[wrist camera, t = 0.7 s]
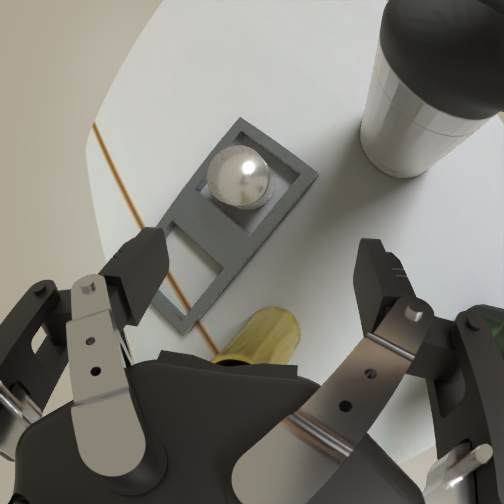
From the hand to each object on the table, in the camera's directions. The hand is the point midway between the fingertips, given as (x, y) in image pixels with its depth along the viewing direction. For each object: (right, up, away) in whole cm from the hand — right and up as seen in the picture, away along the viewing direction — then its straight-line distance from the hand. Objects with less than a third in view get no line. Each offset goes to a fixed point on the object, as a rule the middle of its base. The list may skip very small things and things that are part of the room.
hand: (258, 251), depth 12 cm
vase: (+2, -9, +21) cm, 23 cm away
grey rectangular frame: (-5, +3, +23) cm, 23 cm away
